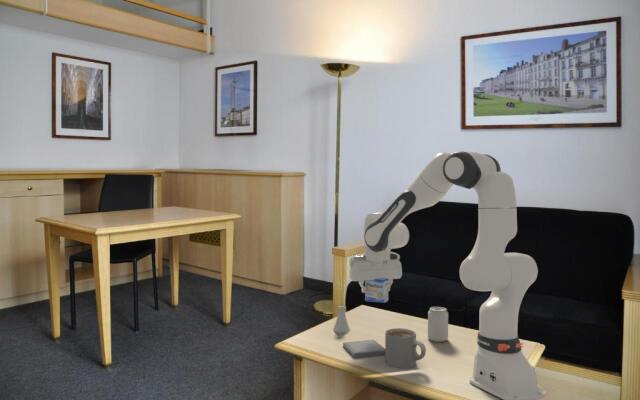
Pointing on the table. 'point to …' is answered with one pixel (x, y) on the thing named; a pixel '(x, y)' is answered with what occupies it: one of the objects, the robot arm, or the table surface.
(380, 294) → the medicine box
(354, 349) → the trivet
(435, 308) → the can
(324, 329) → the table surface
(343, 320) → the flask
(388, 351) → the coffee mug
